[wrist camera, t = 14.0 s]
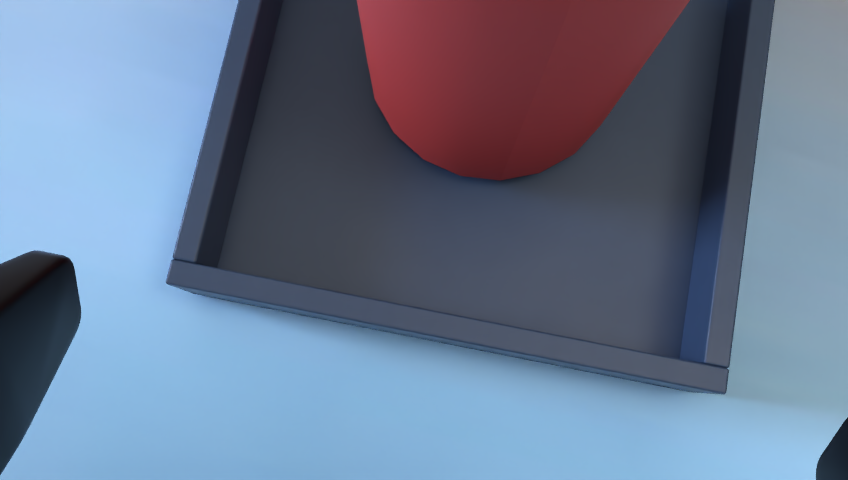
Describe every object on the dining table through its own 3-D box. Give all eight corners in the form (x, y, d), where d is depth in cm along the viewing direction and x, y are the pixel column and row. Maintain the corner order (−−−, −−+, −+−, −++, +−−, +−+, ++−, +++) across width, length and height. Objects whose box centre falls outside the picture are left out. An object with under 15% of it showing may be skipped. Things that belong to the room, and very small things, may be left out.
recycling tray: (692, 392, 20) (726, 394, 17) (192, 293, 20) (164, 283, 18) (761, -131, 22) (798, -186, 20) (318, -209, 23) (307, -271, 20)
